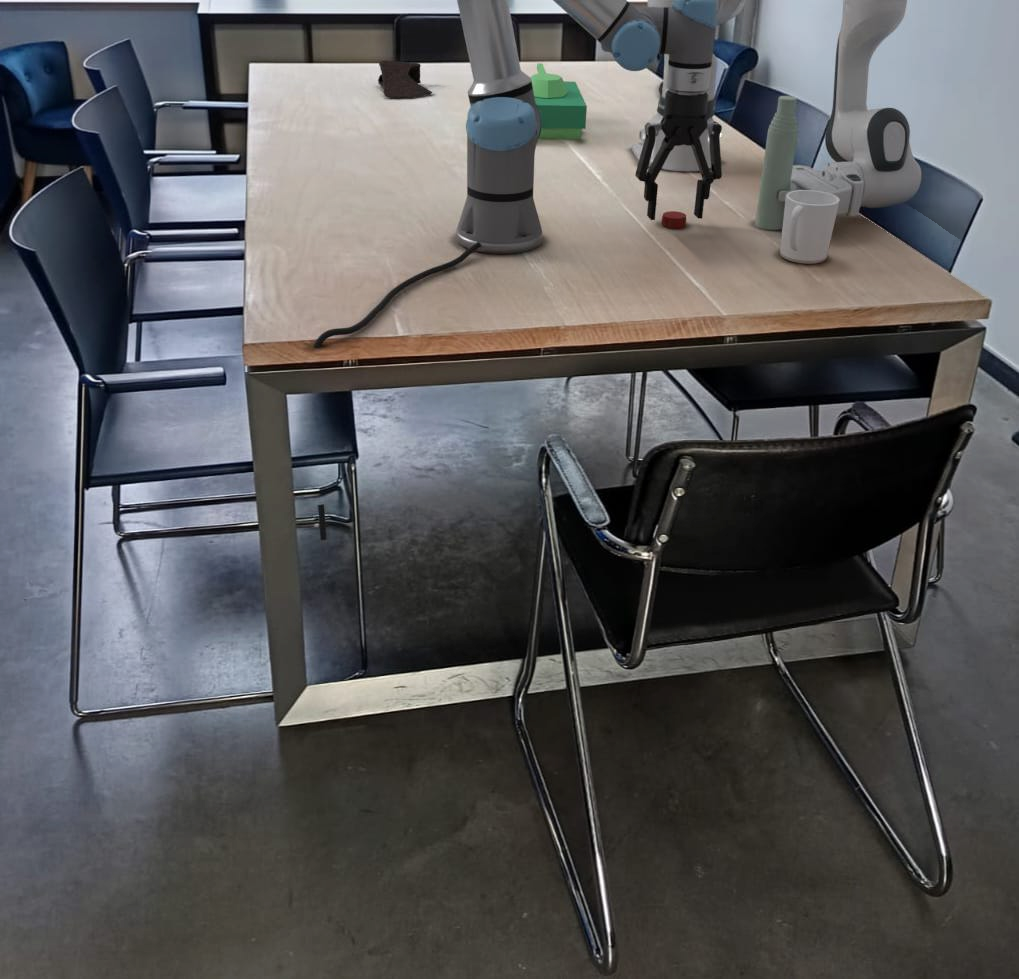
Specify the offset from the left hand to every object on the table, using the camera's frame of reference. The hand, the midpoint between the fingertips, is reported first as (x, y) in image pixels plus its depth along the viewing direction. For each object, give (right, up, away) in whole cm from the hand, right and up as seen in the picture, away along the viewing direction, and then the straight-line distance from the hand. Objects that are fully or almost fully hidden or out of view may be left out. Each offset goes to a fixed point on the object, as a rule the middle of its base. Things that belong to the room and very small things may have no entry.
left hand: (674, 216), depth 205 cm
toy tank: (-23, +39, +65) cm, 79 cm away
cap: (0, 0, 0) cm, 0 cm away
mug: (+20, -11, -14) cm, 26 cm away
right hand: (+17, +4, -2) cm, 18 cm away
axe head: (-60, +58, +96) cm, 127 cm away
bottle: (+18, -1, +2) cm, 18 cm away
